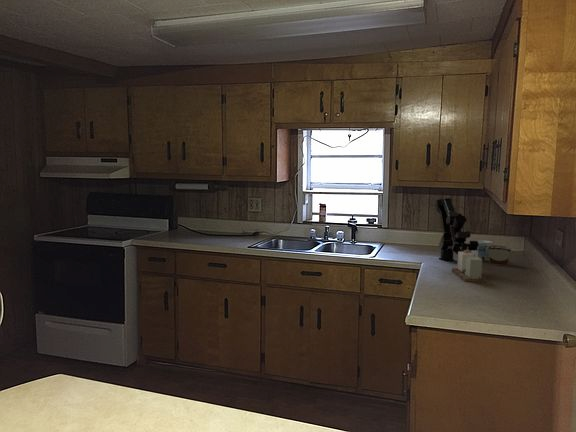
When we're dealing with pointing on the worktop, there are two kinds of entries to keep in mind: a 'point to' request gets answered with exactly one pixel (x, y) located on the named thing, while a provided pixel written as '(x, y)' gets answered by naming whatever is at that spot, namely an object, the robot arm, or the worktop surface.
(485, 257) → the light bulb box
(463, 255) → the block
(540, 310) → the worktop surface
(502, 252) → the food container
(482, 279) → the rail board
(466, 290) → the worktop surface
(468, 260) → the block
